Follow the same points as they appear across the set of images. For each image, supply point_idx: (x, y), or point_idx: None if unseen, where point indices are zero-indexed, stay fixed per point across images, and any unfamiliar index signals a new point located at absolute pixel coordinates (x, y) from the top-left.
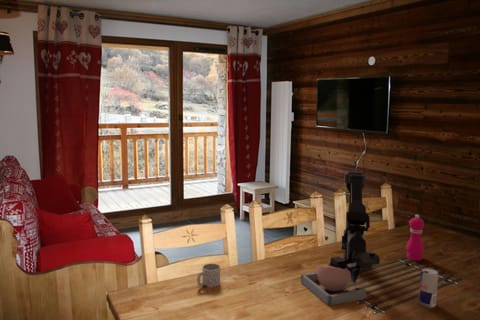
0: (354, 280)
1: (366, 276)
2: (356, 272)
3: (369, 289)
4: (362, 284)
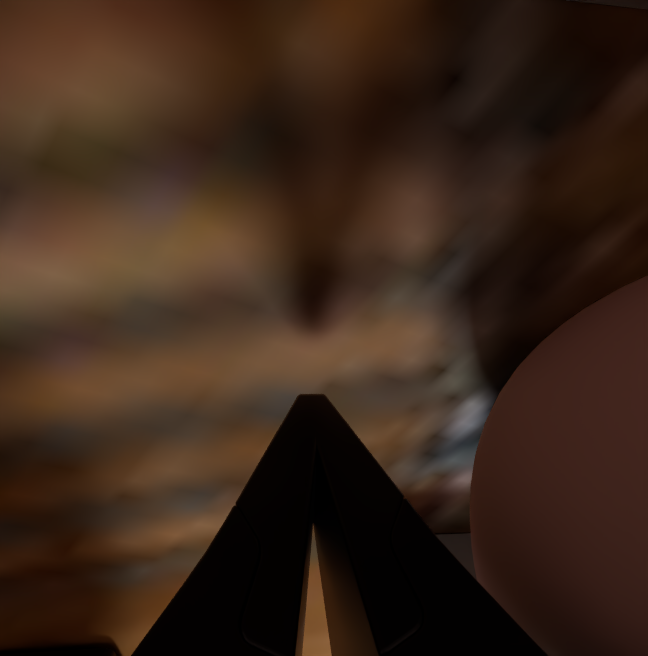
0: (329, 414)
1: (15, 505)
2: (303, 584)
3: (138, 222)
4: (164, 377)
